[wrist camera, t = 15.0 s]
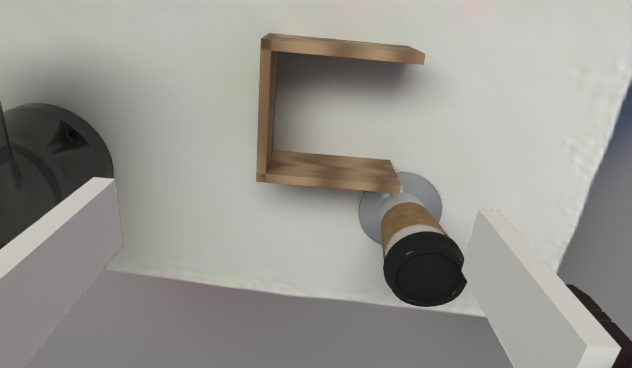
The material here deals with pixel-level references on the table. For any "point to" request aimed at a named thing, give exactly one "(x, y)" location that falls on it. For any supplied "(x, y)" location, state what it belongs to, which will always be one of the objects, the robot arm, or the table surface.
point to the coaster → (408, 184)
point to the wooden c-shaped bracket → (319, 166)
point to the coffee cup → (418, 253)
